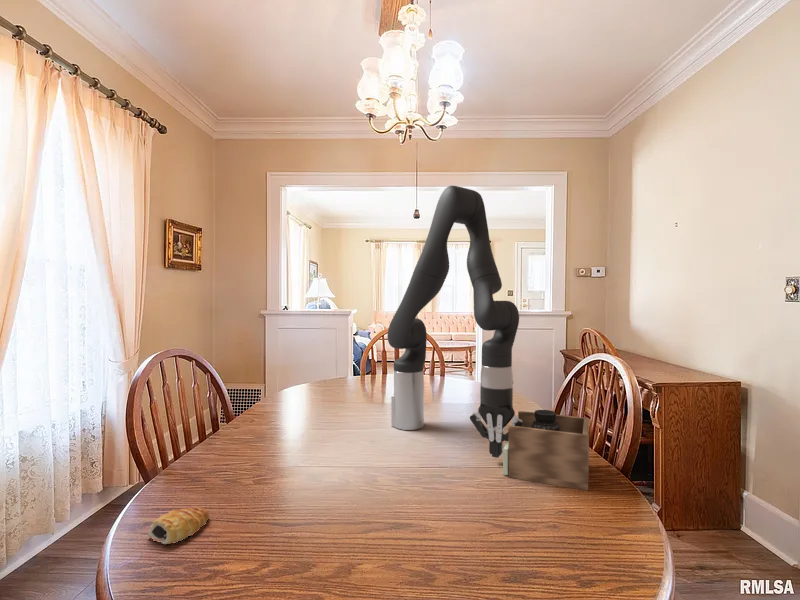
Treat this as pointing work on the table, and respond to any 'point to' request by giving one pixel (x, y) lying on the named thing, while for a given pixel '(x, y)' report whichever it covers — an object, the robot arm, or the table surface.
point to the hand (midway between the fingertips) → (495, 456)
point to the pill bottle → (545, 420)
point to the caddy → (550, 451)
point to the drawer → (505, 460)
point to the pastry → (178, 524)
